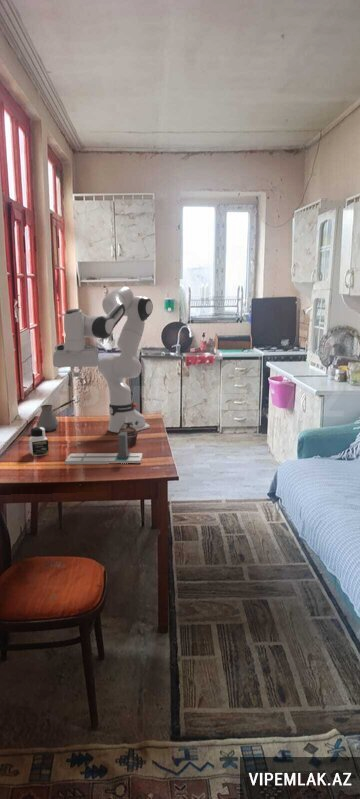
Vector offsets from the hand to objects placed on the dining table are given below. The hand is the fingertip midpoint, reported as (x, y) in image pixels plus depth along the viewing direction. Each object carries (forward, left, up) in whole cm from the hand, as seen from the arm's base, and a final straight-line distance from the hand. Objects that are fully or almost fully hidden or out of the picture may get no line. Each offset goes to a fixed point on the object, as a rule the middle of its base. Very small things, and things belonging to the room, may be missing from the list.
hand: (76, 376), depth 224 cm
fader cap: (-8, +27, -32) cm, 43 cm away
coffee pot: (-6, -42, -34) cm, 55 cm away
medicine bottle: (+18, -5, -34) cm, 39 cm away
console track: (-1, +22, -34) cm, 41 cm away
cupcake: (-22, +6, -34) cm, 41 cm away
